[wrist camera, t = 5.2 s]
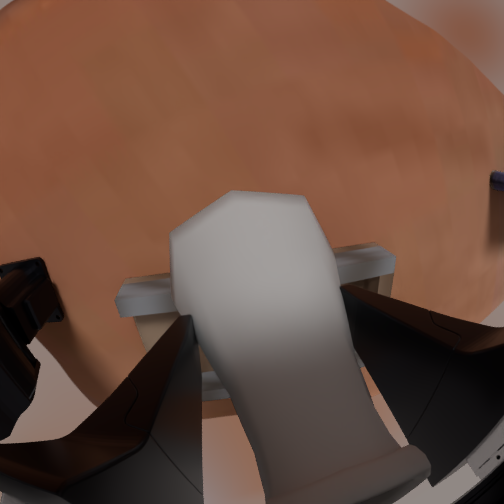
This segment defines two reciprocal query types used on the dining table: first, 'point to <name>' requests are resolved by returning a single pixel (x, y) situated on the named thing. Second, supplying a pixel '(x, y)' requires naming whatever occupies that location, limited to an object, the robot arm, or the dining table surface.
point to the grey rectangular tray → (161, 318)
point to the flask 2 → (497, 180)
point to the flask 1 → (287, 351)
